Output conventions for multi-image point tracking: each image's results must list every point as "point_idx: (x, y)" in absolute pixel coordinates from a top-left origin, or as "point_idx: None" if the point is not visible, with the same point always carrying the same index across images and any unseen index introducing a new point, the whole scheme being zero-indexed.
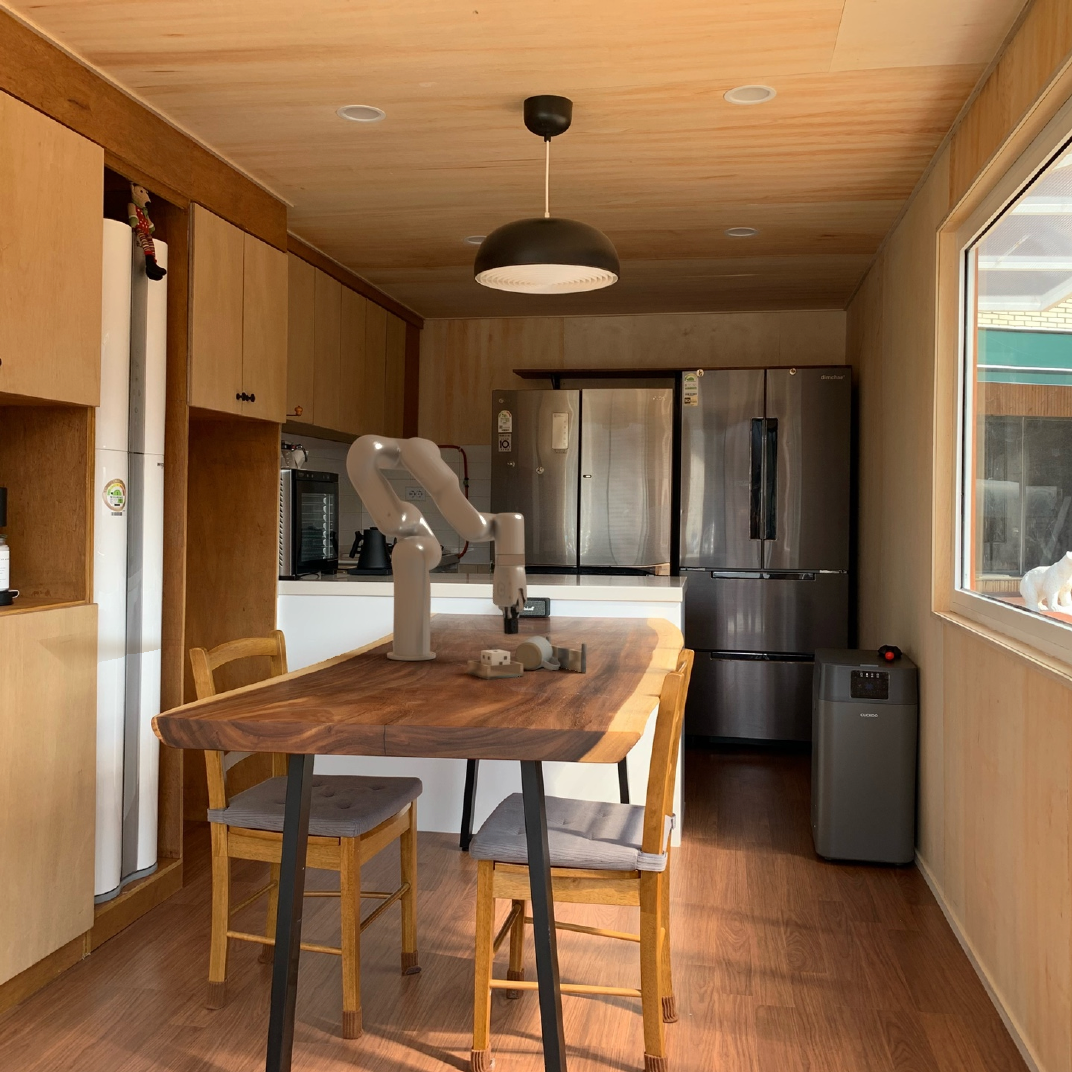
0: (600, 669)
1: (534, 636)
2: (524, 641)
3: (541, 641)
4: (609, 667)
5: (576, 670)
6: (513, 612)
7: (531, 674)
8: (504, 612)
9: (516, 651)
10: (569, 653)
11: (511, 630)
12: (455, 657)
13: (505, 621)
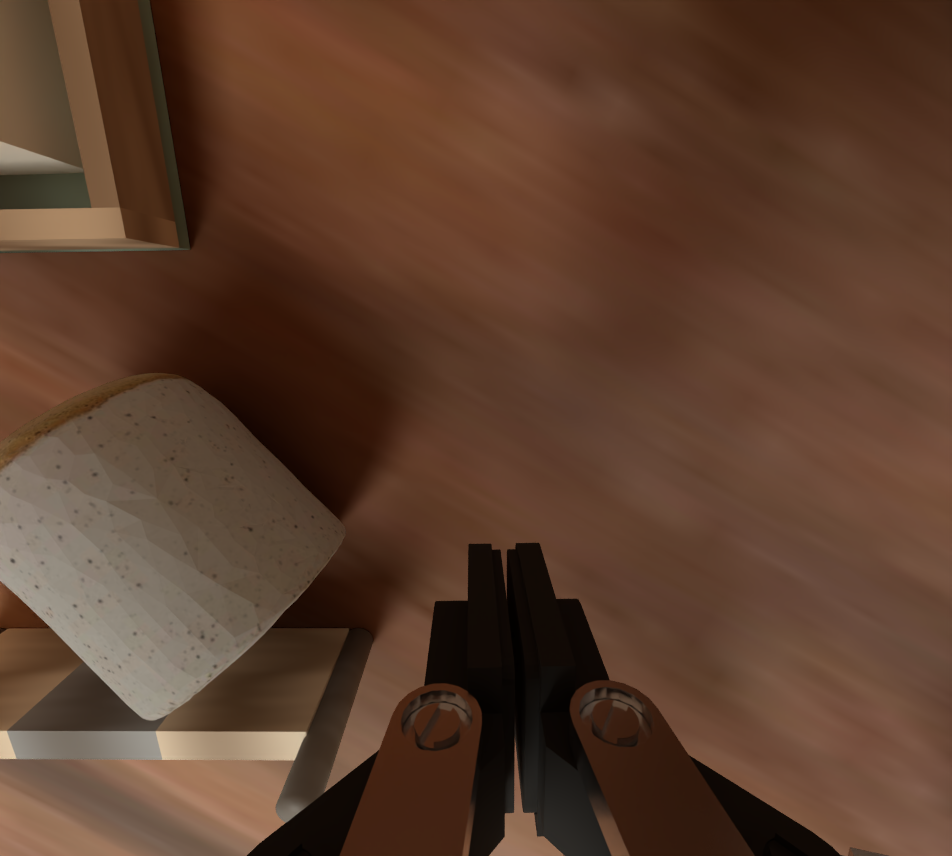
0: (108, 765)
1: (178, 668)
2: (55, 488)
3: (60, 636)
4: (160, 827)
5: (39, 633)
6: (307, 837)
7: (7, 355)
8: (616, 776)
9: (115, 382)
10: (28, 707)
11: (453, 602)
12: (944, 266)
13: (534, 636)
